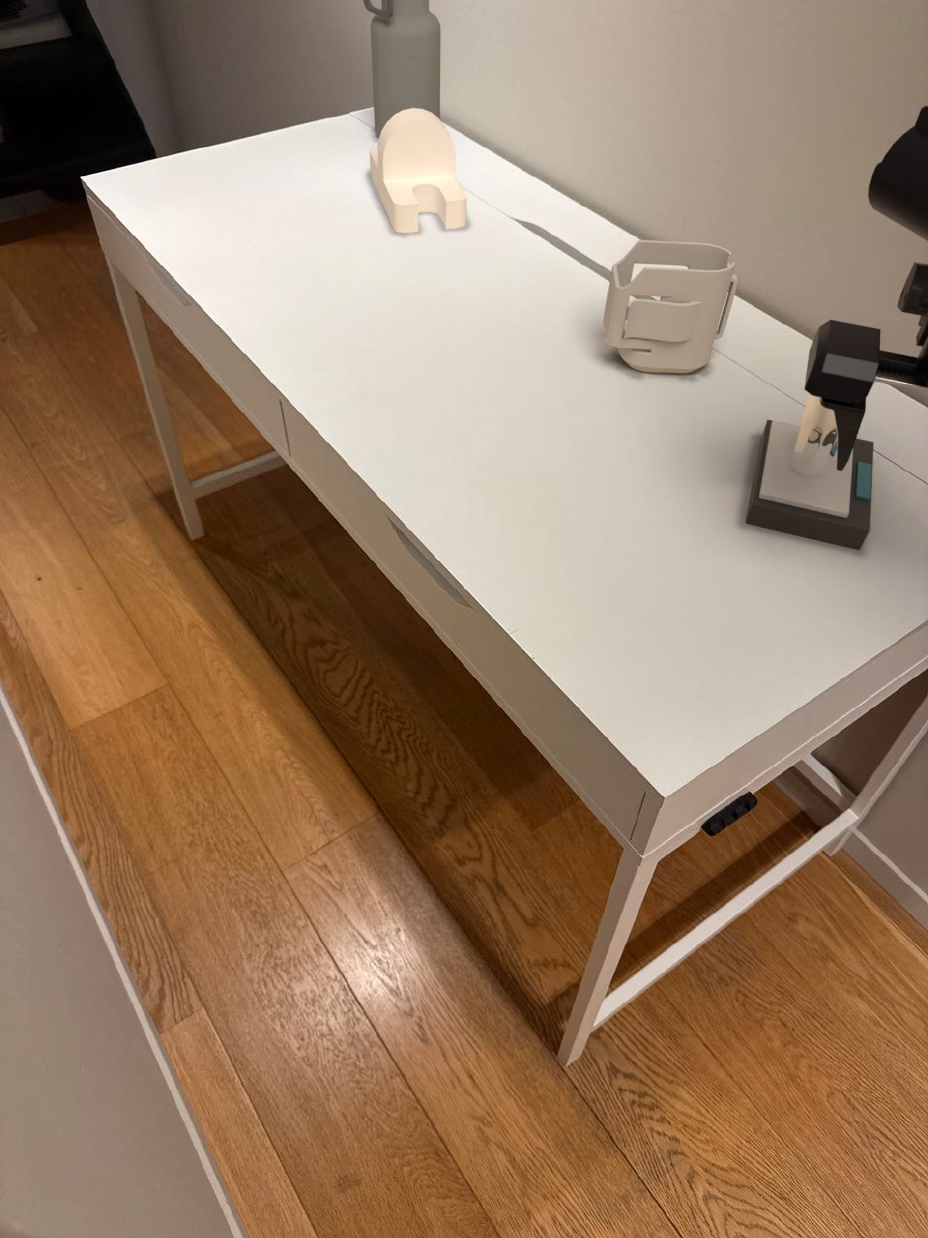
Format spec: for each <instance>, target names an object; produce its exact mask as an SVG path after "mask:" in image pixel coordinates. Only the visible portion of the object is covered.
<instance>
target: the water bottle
mask: <svg viewBox="0 0 928 1238" xmlns="http://www.w3.org/2000/svg"><path fill="white" fill-rule="evenodd" d="M380 2H381V3H380V4H381V8H377V7H376V6H374V5H373V4H372V2H371V0H363V5H364V8H365V9H366V11H368V12H369V13H372V14H373V15H374V16H373V18H372V20H371V23H370V44H371V46H370V47H371V68H372V88H373V89H372V90H373V93H372V94H373V95H372V96H373V114H374V115H373V116H374V118H373V119H374V130H375V133H376V135H377V137H378V138H379V137H380V134H381V131H382V129H383V127H384V126H385V124H386V123H387V121H389V120H390V119H391V118H392V117H393V116H394V115H395V114H397V113H399V112H401V111H403V110H406V109H411V108H417V109H424V110H426V111H429V112H431V113H433V114H434V115H435V116H436V117H438V118H439V119H440V120H441V35H442V34H441V32H442V31H441V23H440V21H439V19H438V17H437V16H436V15H435V14H434V13H433V12H432V11H431V10H430V0H380Z"/></svg>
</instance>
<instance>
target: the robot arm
mask: <svg viewBox="0 0 928 1238" xmlns="http://www.w3.org/2000/svg"><path fill="white" fill-rule="evenodd" d="M867 197H868V203H869V205H870V206H871V207H872V210H874V211H876V212H878V213H880V214H881V215H883V216H884V217H886V218H888V219H889V220H892V221H893V222H895V223H897V224H898V225H899V226H902V227H903V228H905V229H906V230H908V231H910V232H911V233H913V234H915V235H917V236H918V237H920V238H922V239H924V240H925V241H927V242H928V105H924V106H923V107H921V109H920V111H919V114H918V115H917V118H916V121H915V123H914V125H913V126H912V127H910V128H909V129H908V130H907V131H905V132H904V133H902V135H900V137H899V138H898V139H897V140H895V142H894V143H893V144H892V145H891V147H890V148H889V149H888V151H886V153H885V155H884V156H883V158H882V160H881V161H880V162H878V163H877V164H876V166H875V167H874V170H873V171H872V174H871V177H870V180H869V185H868V193H867ZM896 307H897V308H898V310H899V311H900V312H901V313H905V314H909V315H916V316H920V317H919V320H918V323H917V325H918V327H920V328H919V330H918V332H917V334H916V337H915V342H916V343H915V345H916V346H917V347H922V348H921V350H920V352H919V353H918V355H917V357H916V356H911V355H907V354H903V353H902V354H901V353H897V352H891V351H887V350H881V330H882V329H881V328H877V327H871V326H867V325H862V324H856V323H851V322H845V321H840V320H835V319H829V320H827V321H826V322H825V323H823V324H822V325H820V326H818V328H817V329H816V332H815V334H814V338H813V340H812V343H811V345H810V348H809V352H808V358H807V360H808V361H807V367H806V372H805V373H806V374H805V382H804V390H805V391H806V392H807V393H808V394H809V393H810V394H811V395H812V396H817V397H820V404H821V405H822V406H823V407H824V408H827V409H831V410H833V411H834V414H835V420H836V425H837V431H838V453H837V470H839V471H842V470H843V469H844V467H845V465H846V464H847V462H848V460H849V458H850V455H851V452H852V449H853V446H854V443H855V440H856V438H857V439H858V434H859V431H860V430H861V429H860V428H861V426H862V423H863V420H864V417H865V414H866V411H867V398H866V397H868V396H869V394H870V392H871V390H872V387H873V386H874V385H873V383H874V381H875V383H880V384H887V385H891V386H896V387H901V388H905V389H911V390H916V391H921V392H924V393H925V392H926V393H928V264H927V263H924V262H923V263H922V262H916V261H914V262H913V264H912V266H911V268H910V271H909V273H908V275H907V278H906V279H905V282H904V285H903V286H902V290H901V292H900V295H899V297H898V300H897V305H896ZM872 385H873V386H872Z"/></svg>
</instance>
